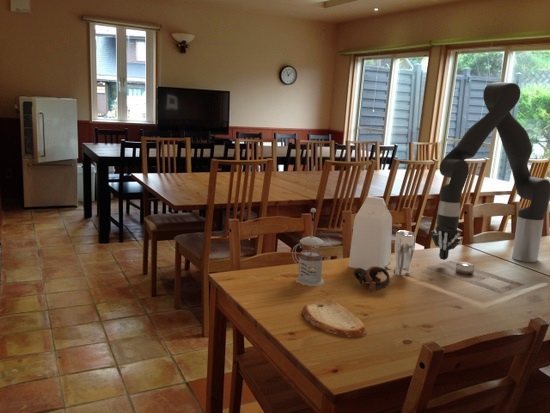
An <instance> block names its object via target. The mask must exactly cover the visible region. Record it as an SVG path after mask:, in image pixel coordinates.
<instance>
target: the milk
mask: <svg viewBox="0 0 550 413" xmlns="http://www.w3.org/2000/svg"><path fill="white" fill-rule="evenodd" d="M386 205H387V204H386V201H385V199H384V197H376V196H369V195H368V196H366V197H365V199H364V201H363V204H362V205H361V207H360V209H358V211H357V213H356V215H355V217H354V220H353V226H352V235H351V243H350V251H349V261H348V267H349V268H352V269H357V268H362V269H364V270H368V269H369V268H370V267H373V266H375V267H376V266H377V267H381V268H383V269H385V270H387V269H388V267H387V266H389V265H391V260H392V257H391V256H392V235H393V234H392V231H393V229H392V228H393V216H392V214H391V213H390V210H389V209H388V207H387V206H386ZM381 273H383V272H382V271H381V272H380V273H378V274H381Z"/></svg>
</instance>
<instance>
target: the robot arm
mask: <svg viewBox="0 0 550 413" xmlns="http://www.w3.org/2000/svg"><path fill="white" fill-rule="evenodd" d="M520 98H521V88H520V86H519V85H518V84H516V83H515V82H505V81H504V82H502V81H501V82H500V81H498V82H491V83H489V84H486V86H485V87H484V90H483V103H484V104H485V107H486V110H487V111H488V112H487V113H486V114H485V115H484V116H483V117H481V118H480V119H479V120H478V121H477V122H474V124H473V125H471V126H470V127H469V128H468V129H467V131H466V132H465V133H464V134H463V136H462V138H461V139H460V140H459V142H458V144H457V145H456V146H455V147H454V148H452V150H450V152H448V153H447V155H445V156H444V157H443V159H442V160H441V162H440V164H439V172H440V174H441V176H443V177H445V178H450V179H449V180H448V181H449V182H448V183H447V184H443V185H442V186H441V190H440V196H439V202H438V206H437V207H438V209H437V216H436V226H435V229H434V230H431V231H430V232H429V234H430V236H431V238H432V241H433V243H434V245H435V247H438V248H439V252H438V253H439V254H438V255H439V259H440V260H443V261H445V260H447V259H448V258H449V254H450V253H449V252H450V251H451V250H454V249H456V247H457V246H458V245H460V244H461V243H462V241H463V240H464V239H463V238H462V237H460V236H459V235H458V234H459V232H458V227H459V222H460V221H459V220H460V213H461V199H462V192H463V189H464V187H465V184H466V181H467V179H468V177H469V173H470V167H469V165H468V163H467V161H466V160H467V159H472V158H474V157H475V156H476V154H477V153H478V152H479V150H480V148H481V146H483V144H484V143H485V141H486V139H487V138H488V137H489V136H490V134H491V133H492V132H493V131H494V129H495V128H496V131H497V134H498V136H499V138H500V141H501V144H502V148H503V150H504V153H505V155H506V157H507V161H508V163H509V164H508V165H509V167H510V169H511V173H512V176H513V182H514V185H515V186H514V187H515V189H516V193H517V195H518V196H519V197H520V198H521V199H524V200H528V201H530V203H529V206H528V207H522V208H520V209H519V210H518V212H517V218H516V219H517V220H516V225H515V234H514V241H513V247H512V253H511V254H512V255H511V258H512V259H513V260H516V261H520V262H524V263H537V262H538V260H539V254H540V248H541V247H540V246H541V242H542V240H541V239H542V234H543V228H544V220H545V216H546V213H547V211H548V207H549V202H550V181H549V180H548V179H547V178H541V177H536V176H533V175H532V174H531V172H530V168H529V162H530V161H529V160H530V158H531V156H532V152H533V145H532V143H531V140H530V136H529V134H528V132H527V130H526V129H525V127H523V126H522V124H521V123H520V122H519V121H518V120H517V119H516V118H515V117H514V116H513V115H512V113H511V111H512V110H513V109H514V108H515V107H516V106H517V104H518V102H519V101H520Z"/></svg>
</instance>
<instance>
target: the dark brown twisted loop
mask: <svg viewBox="0 0 550 413" xmlns="http://www.w3.org/2000/svg"><path fill="white" fill-rule="evenodd" d="M381 271H382V272H381ZM380 272H381V273H383V274H384V276H386V279H385V280H382V279H381V278H379V276H377V275H378V274H379V273H380ZM381 273H380V274H381ZM353 276H354V278H355V279H357V281H358V282H359V283H360V285H362V284H363V285H365V284H366V283H367V284H368V285H369V287H368V288H367V290H368V292H370V293H372V294H373V293H375V291H380V290H381V291H382V290H383V289H386V288H387V287H389V284H390V283H391V280H390V277H391V276H390V274H389V272H388V271H387V269H383V268H381V267H377V266H376V267H375V266H373V267H370V268H369V269H368V270H364V269H362V268H354V270H353Z"/></svg>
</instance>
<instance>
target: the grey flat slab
mask: <svg viewBox="0 0 550 413" xmlns="http://www.w3.org/2000/svg"><path fill="white" fill-rule="evenodd" d="M456 263H457V262H456V261H452V260H449V261H445V262H441V263H437V264H433V265H430V266H426V267H425V268H427V269H429V270H432V271H435V272H437V273H441V274H444V275H447V276H450V277H452V278H455V279H459V280H462V281H465V282H468V283H470V284H473V285H476V286H479V287H482V288H485V289H488V290H491V291H494V292H496V293H498V294H499V293H500V294H502V293H505V292H509V291H511V290H514V289H517V288H518V287H522V286H524V285H525V284H524V283H522V282H518V281H517V280H516V281H515V280H513V279H510V278H506V277H503V276H499V275H497V274H494V273H490V272H487V271H484V270H480V269H478V268H475V267H474V273H473V275H461V274H458V273H456ZM489 278H493V279H496V280H498V281H502V282H504V283H508V285H505V286H502V287H496V286H493V285H491V284H487V283H485V282H481V280H485V279H489Z"/></svg>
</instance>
